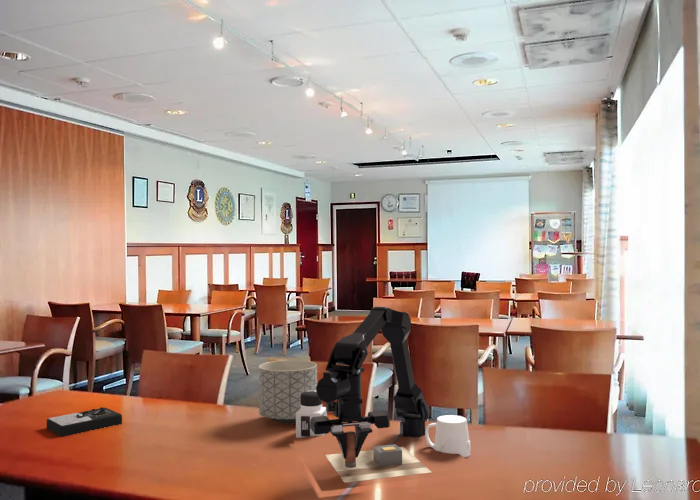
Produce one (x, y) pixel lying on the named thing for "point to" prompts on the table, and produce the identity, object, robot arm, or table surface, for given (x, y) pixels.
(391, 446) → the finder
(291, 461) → the table surface
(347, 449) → the brown cylinder
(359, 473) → the board
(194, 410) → the table surface
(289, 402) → the planter
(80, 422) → the multimeter
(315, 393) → the container
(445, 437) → the mug
